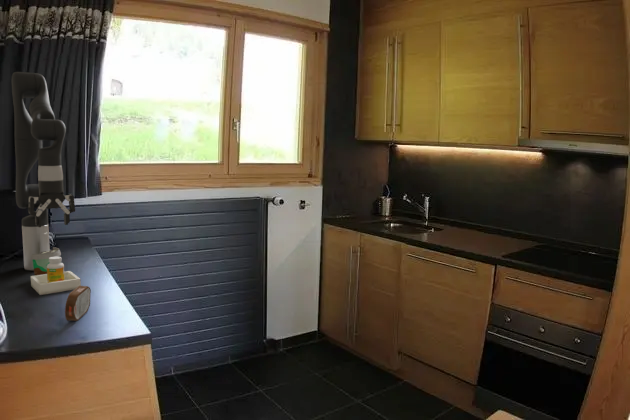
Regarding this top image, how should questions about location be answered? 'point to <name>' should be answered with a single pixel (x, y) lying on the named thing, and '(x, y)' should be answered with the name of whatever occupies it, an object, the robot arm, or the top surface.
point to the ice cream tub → (43, 260)
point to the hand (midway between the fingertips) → (52, 225)
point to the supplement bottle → (55, 270)
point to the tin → (77, 303)
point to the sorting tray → (55, 283)
